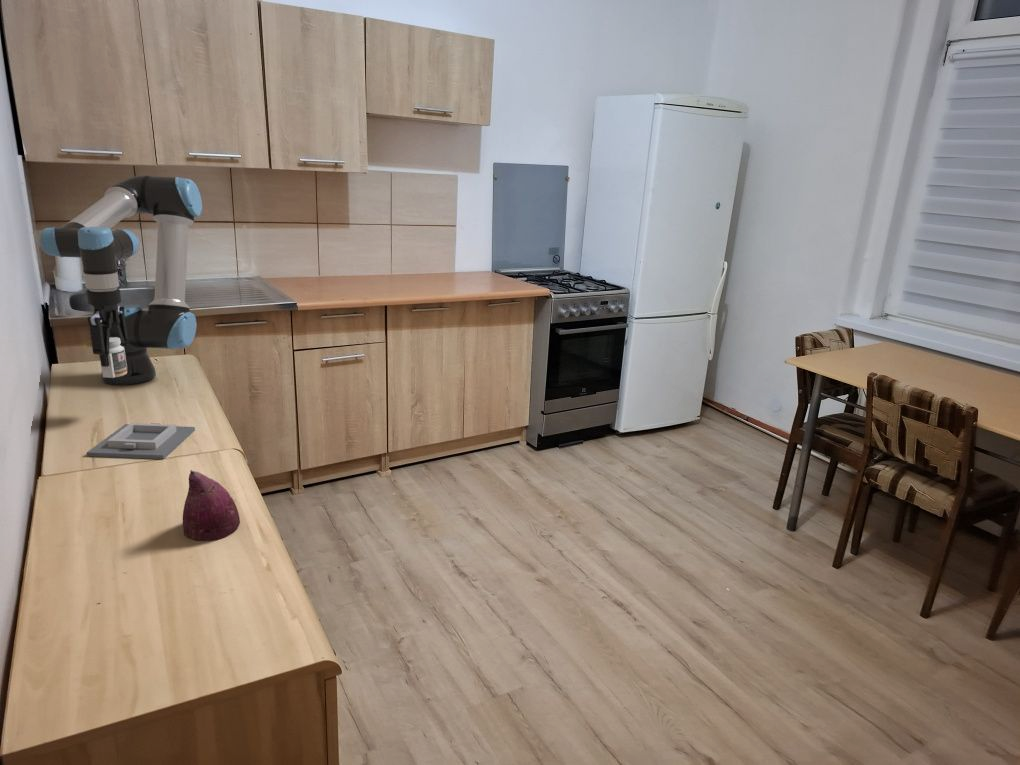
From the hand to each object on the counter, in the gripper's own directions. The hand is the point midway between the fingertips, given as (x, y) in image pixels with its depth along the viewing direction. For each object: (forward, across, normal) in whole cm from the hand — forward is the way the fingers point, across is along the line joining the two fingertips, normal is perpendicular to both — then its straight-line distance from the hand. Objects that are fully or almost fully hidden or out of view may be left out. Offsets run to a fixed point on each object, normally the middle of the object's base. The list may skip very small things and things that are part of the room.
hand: (115, 373), depth 179 cm
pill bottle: (+1, 0, 0) cm, 1 cm away
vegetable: (+12, +56, +46) cm, 73 cm away
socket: (+12, +17, +14) cm, 25 cm away
